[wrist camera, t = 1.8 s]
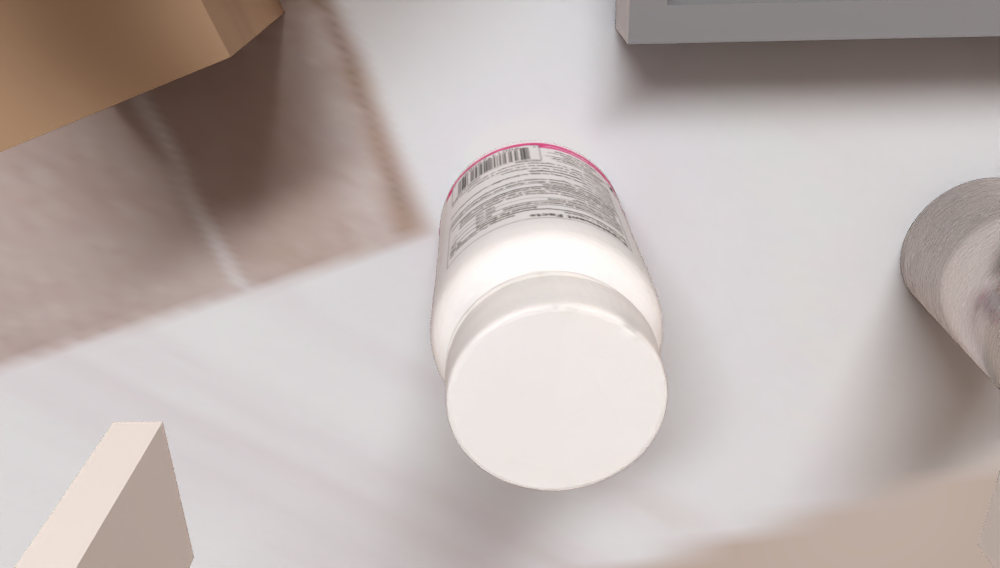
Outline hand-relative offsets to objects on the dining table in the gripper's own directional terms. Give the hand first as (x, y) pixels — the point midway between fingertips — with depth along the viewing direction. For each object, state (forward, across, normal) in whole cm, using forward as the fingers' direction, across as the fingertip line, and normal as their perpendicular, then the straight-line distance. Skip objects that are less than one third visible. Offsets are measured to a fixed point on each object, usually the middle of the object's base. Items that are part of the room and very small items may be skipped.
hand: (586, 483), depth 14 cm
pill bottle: (+11, 0, 0) cm, 11 cm away
